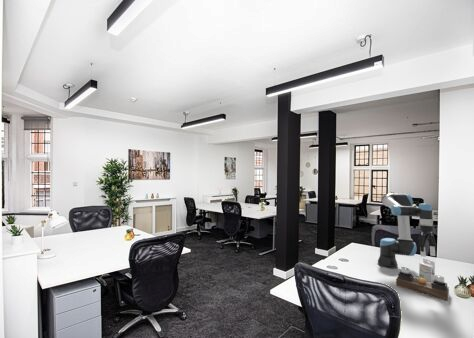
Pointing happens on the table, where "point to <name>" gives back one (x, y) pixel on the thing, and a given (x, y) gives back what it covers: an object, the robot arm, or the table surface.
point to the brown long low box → (423, 286)
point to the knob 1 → (405, 271)
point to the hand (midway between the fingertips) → (428, 256)
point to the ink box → (427, 270)
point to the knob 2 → (439, 279)
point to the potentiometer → (421, 280)
